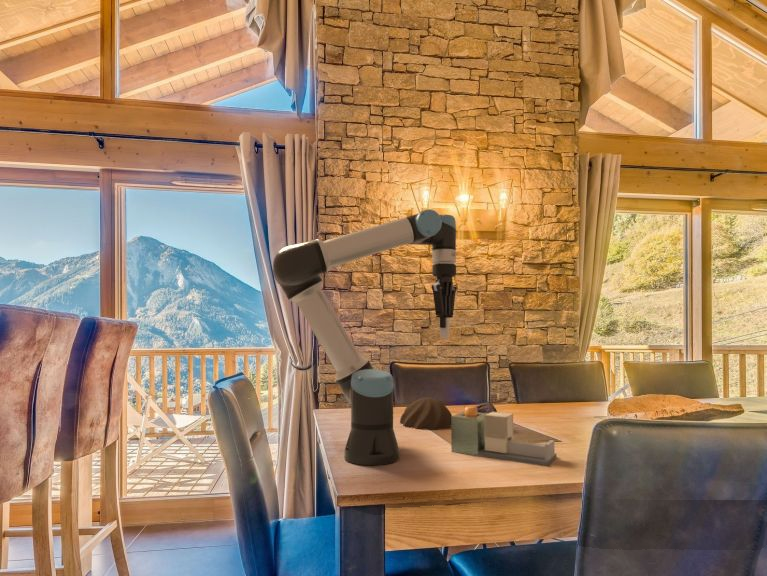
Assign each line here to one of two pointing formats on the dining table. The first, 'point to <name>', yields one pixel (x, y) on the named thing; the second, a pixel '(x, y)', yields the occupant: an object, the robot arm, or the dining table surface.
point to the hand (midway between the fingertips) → (444, 338)
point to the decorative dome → (426, 414)
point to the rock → (486, 408)
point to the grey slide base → (525, 452)
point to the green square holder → (468, 433)
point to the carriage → (498, 431)
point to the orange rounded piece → (471, 411)
